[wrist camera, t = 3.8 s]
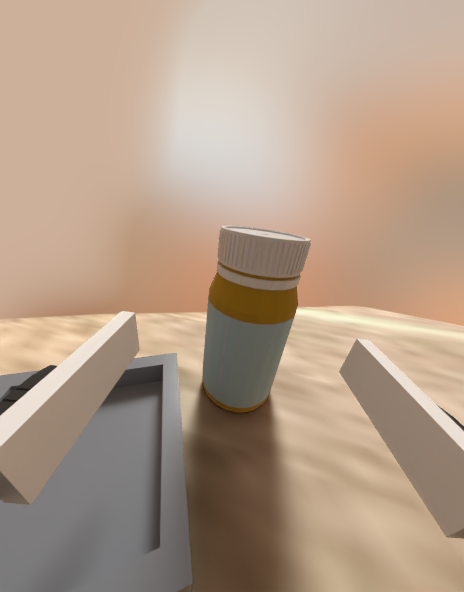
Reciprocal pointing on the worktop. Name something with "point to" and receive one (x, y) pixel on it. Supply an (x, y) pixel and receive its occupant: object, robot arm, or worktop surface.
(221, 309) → the bottle
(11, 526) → the tray
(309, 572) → the worktop surface
